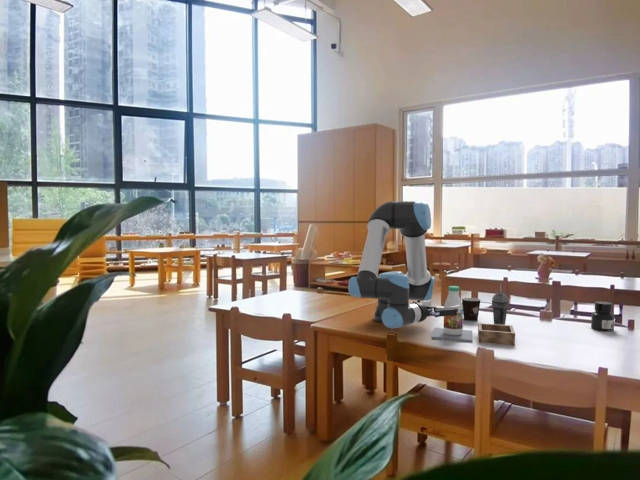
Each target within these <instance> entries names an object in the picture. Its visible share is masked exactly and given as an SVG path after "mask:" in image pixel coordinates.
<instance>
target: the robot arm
mask: <svg viewBox="0 0 640 480" xmlns="http://www.w3.org/2000/svg"><path fill="white" fill-rule="evenodd" d="M431 227H432V217H431V208H430V206H429V203H427V202H426V201H420V200H414V201H412V200H410V201H408V200H407V201H404V200H402V201H398V200H396V201H394V200H390V201H387V202H384V203H382V204H381V205H379V206H378V207H377V208H375V210H374V211H373V212H372V214H371V215H370V216H369V219H368V221H367V224H366V228H367V231H368V232H367V236H366V239H365V244H364V246H363V247H364V248H363V250H362V251H363V252H362V255H361V259H360V262H359V263H360V264H359V267H358V272H357V275H356V276H351V277H350V278H349V281H348V288H347V289H348V293H349V295H350V297H355V298H359V299H361V298H365V299H366V298H367V299H377V305H376V308H375V310H374V313H373V320H374V321H376V322H379V323H382V324H383V325H384V326H385V327H387V328H388V329H399V328H402V327H405V326H408V327H409V326H411V325H412V324H417V323H422V322H424V321H425V320H426V319H427V318H428V317H429V318H430V317H434V318H438V317H439V318H440V317H444V316H456V315H457V313H458V312H460V307H461V305H456V306H452V307H450V308H444V307H436V306H432V298H433V292H434V285H435V276H433V275H432V274H431V272H430V271H429V270H428V266H427V264H428V263H427V252H426V239H425V238H426V236H425V234H427V232H428V231H429V230H430V228H431ZM391 229H393V230H394V229H395V230H399V232H400V234H401V235H402V236H403V237H404V245H405V254H406V255H405V256H406V264H407V272H406V274H405V273H404V272H403V271H399V270H397V271H396V270H395V271H386V272H382V273H380V274H379V270H380V267H381V263H382V258H383V257H382V256H383V252H384V248H385V242H386V238H387V235H388V234H389V233H390V231H391ZM409 301H412V302H411V303H410V302H409Z"/></svg>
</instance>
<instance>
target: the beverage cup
mask: <svg viewBox="0 0 640 480" xmlns="http://www.w3.org/2000/svg"><path fill="white" fill-rule="evenodd" d="M491 304H492V314H493V315H492V316H493V324H498V325H506V320H507V313H508V307H509V298H508V296H507V295H506V294H505V293H503V292H502V283H500V284H499V292H497V293H494V295H493V296H492V299H491Z"/></svg>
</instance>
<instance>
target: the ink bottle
mask: <svg viewBox="0 0 640 480" xmlns="http://www.w3.org/2000/svg"><path fill="white" fill-rule="evenodd" d="M612 312H613V303H612V302H608V301H594V311H593V312H592V313H591V316H590V317H591V318H590V319H591V322H590V323H591V325H590V328H591V329H592V328H593V330H595V329H597V330H596V331H600V330H604V331H603V332H609V331H608V330H613V331H614V330H615V315H614V314H613V313H612Z"/></svg>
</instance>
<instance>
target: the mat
mask: <svg viewBox="0 0 640 480" xmlns="http://www.w3.org/2000/svg"><path fill="white" fill-rule="evenodd" d="M473 336H474V335H473V330H472V329H471V330H470V329H463V331H462V335H457V336H454V335H447V334H445V333H444V327H434V328H433V331H432V334H431V340H438V341H451V342H463V343H473V341H474V340H473V338H474V337H473Z"/></svg>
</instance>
